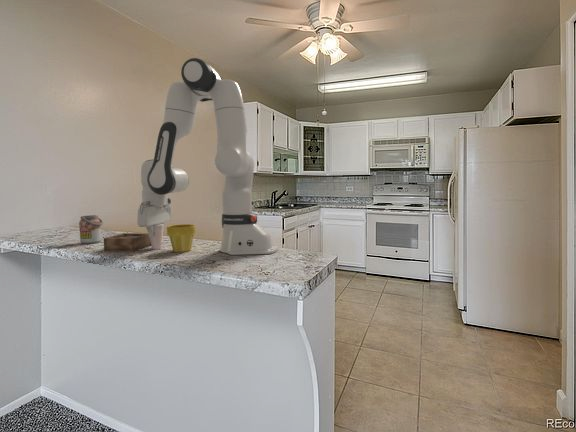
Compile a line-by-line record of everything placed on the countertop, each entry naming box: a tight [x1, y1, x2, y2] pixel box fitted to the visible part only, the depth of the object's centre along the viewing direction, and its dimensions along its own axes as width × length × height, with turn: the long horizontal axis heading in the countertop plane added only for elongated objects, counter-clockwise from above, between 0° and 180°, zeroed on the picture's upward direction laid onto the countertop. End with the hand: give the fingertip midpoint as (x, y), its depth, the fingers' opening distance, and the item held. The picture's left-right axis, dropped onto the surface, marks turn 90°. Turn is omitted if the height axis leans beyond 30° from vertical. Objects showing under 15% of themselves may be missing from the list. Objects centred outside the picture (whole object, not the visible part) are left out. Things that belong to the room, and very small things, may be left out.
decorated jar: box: [78, 214, 104, 245], centre depth 145 cm, size 9×8×12 cm
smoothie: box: [150, 223, 165, 250], centre depth 131 cm, size 6×6×14 cm
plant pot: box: [166, 223, 196, 253], centre depth 127 cm, size 10×10×10 cm
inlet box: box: [102, 232, 152, 252], centre depth 133 cm, size 13×13×5 cm
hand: (156, 235), depth 131 cm, fingers open, 5 cm apart
